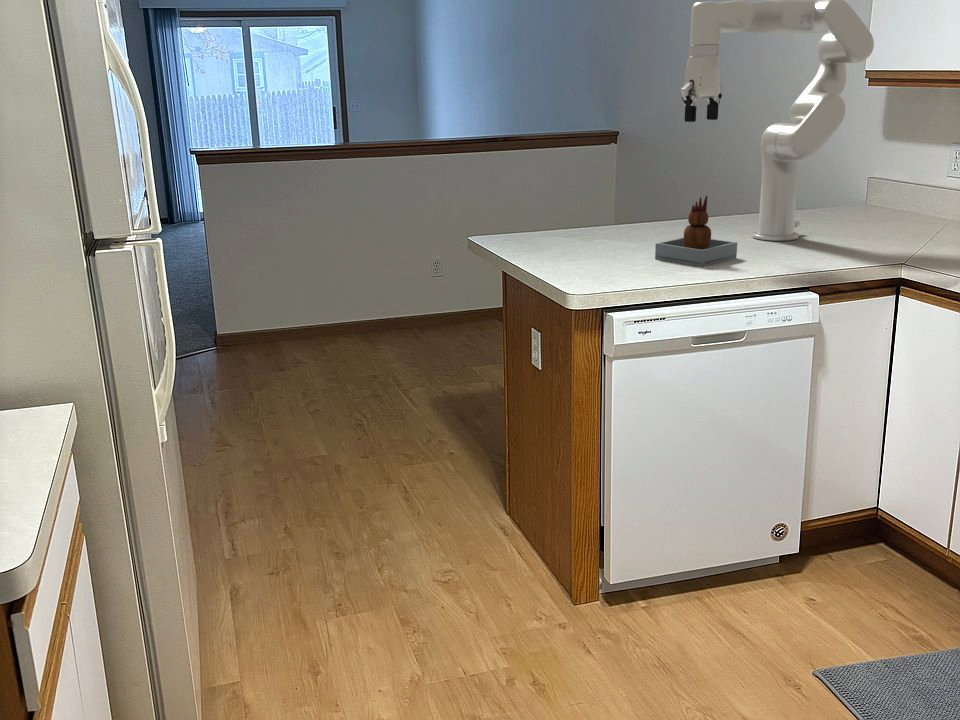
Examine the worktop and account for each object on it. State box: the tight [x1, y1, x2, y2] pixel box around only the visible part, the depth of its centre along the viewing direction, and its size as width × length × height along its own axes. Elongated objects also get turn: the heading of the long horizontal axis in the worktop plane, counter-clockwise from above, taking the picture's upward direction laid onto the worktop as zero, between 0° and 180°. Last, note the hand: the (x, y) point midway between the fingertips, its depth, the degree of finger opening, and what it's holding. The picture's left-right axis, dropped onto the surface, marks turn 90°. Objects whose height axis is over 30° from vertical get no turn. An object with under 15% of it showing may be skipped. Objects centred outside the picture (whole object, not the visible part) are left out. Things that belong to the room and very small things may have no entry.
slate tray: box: [654, 236, 738, 267], centre depth 236 cm, size 15×15×4 cm
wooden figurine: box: [683, 195, 712, 250], centre depth 234 cm, size 7×6×15 cm
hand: (701, 120), depth 244 cm, fingers open, 9 cm apart
